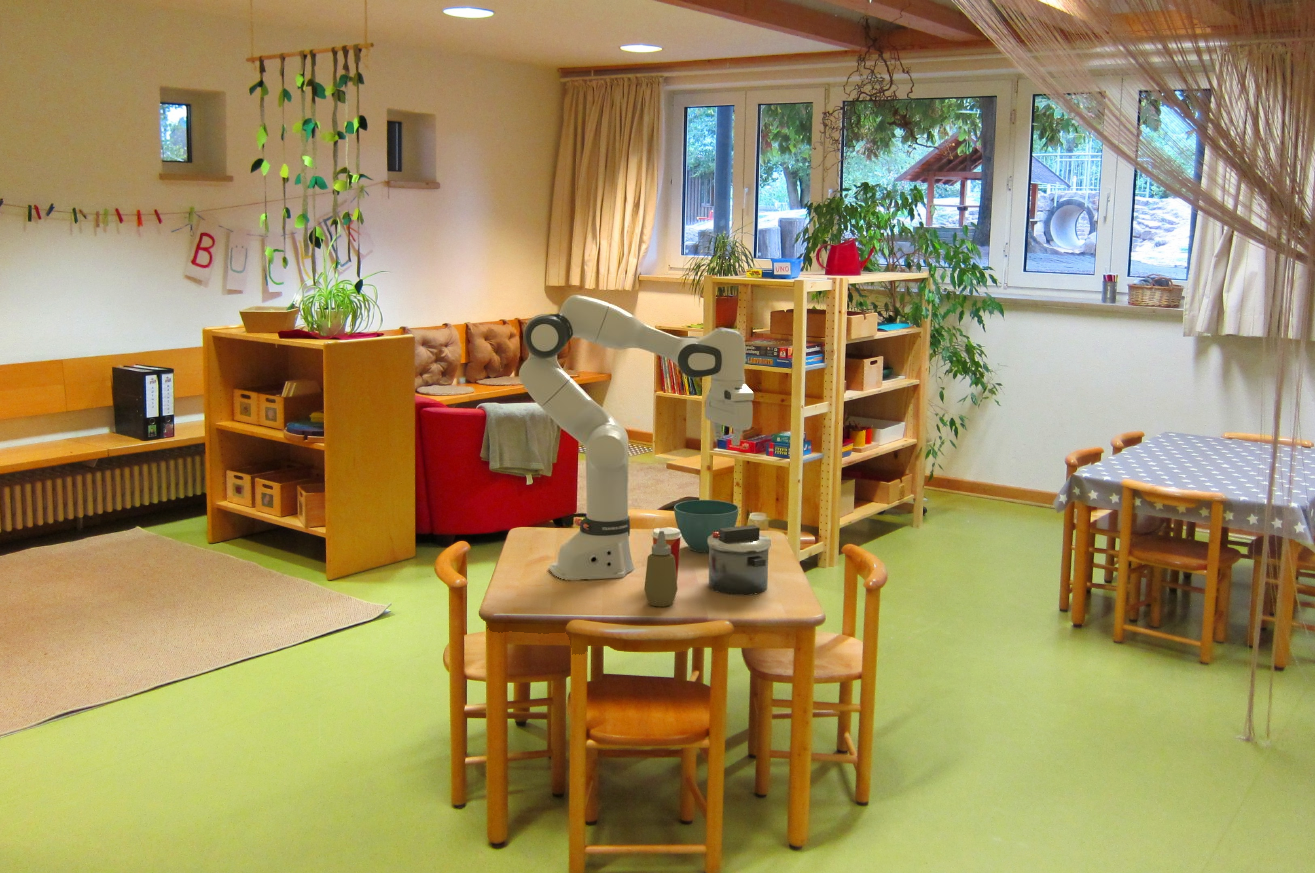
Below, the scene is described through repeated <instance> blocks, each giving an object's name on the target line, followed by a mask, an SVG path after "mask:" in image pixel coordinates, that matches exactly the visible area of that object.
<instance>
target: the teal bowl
mask: <svg viewBox="0 0 1315 873" xmlns="http://www.w3.org/2000/svg"><path fill="white" fill-rule="evenodd" d="M739 509H740V508H739V505H736V504H734V503H731V502H727V501H725V500H724V501H723V500H722V501H721V500H715V499H714V500H713V499H693V500H685V501H681V502H678V503H676V504H674V507H673V510H674V517H675V518H674V519H675V523H676V526H677V529H679V530H680V534H681V535H682V539H683V540H684V541H685V543H686V545H687V546H688V547H689V549H690V550H692V551H694V552H698V553H708V554H709V546H708V537H709V536H710V535H713V532H719V529H721V528H730V527H736V524H737V520H738V516H739Z"/></svg>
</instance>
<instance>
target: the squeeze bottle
mask: <svg viewBox="0 0 1315 873" xmlns="http://www.w3.org/2000/svg"><path fill="white" fill-rule="evenodd" d="M670 553H671V546H670V545H667V544H666V539H665V534H664V531H659V534H658V539H657V543H656V544H655V545H652V546H651V553H650V554H648V556H647V561H646V568H645V569H646V570H645V578H644V579H645V580H644V588H643V590H644V592H645V595H646V599H647V601H648V604H649V605H650V606H653V607H668V606H669V607H670V606H671V605H673V603H674V601H675V598H676V595H677V591H678V578H677V577H676V566H675V557H674V556H673V555H672V554H670Z"/></svg>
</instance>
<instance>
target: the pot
mask: <svg viewBox="0 0 1315 873" xmlns="http://www.w3.org/2000/svg"><path fill="white" fill-rule="evenodd" d="M769 549H770V548H768V549H767V550H764V551H760V552H753V553H731V552H724V551H719V550H716V549H713V548H711V547H709V552H708V554H709V555H708V587H709V589H710V590H712V589H713V590H712V591H714V592H716V591H717V593H719V592H720V593H721V594H723V595H732V596H751V595H750V594H752V595H756V594H755V593H757V594H760V592H761V593H763V592H765V591H766V590H767V589H768V583H769V581H768V580H769V579H768V578H769V576H768V575H769Z"/></svg>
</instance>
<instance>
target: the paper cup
mask: <svg viewBox="0 0 1315 873" xmlns="http://www.w3.org/2000/svg"><path fill="white" fill-rule="evenodd" d="M659 531H664V534H665V539H666V544H667V545H670V546H671V553H670V554H672V555H673V556H674V557H675V566H676V577H677V579H678V577H679V576H678V575H679V564H680V562H679V561H680V549H681V537H682V535H681V534H680V530H679V529H678V527H677V528H676V527H667V526H666V527H663V526H662V527H659V528H658V527H656V528H654V529H653V532H652V534H651V537H652V544H653V545H655V544H656V543H657V539H658V534H659ZM682 538H683V537H682ZM653 545H652V546H653Z"/></svg>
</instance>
